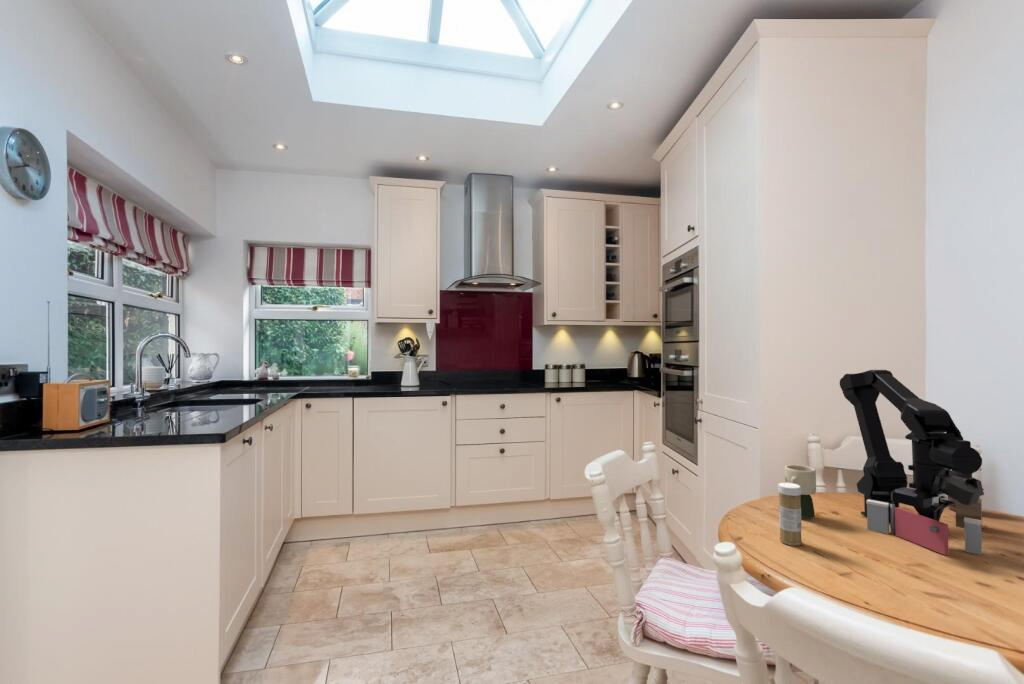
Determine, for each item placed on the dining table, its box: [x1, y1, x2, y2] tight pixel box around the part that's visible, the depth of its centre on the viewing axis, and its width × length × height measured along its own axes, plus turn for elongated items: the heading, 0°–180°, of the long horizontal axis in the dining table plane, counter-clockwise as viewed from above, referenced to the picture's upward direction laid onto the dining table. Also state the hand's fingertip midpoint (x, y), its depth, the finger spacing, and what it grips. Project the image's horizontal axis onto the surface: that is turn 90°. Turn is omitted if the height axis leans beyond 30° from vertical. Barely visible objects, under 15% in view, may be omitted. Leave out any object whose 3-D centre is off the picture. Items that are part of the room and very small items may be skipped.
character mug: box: [784, 464, 817, 519], centre depth 124 cm, size 11×7×13 cm, turn 129°
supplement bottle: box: [947, 470, 974, 512], centre depth 127 cm, size 6×6×11 cm
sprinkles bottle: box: [777, 482, 803, 547], centre depth 107 cm, size 5×5×14 cm
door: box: [894, 506, 950, 556], centre depth 105 cm, size 11×2×6 cm, turn 8°
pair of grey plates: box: [866, 499, 983, 556], centre depth 108 cm, size 20×2×7 cm, turn 43°
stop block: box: [955, 497, 983, 532], centre depth 116 cm, size 4×4×7 cm
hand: (931, 531), depth 106 cm, fingers closed
